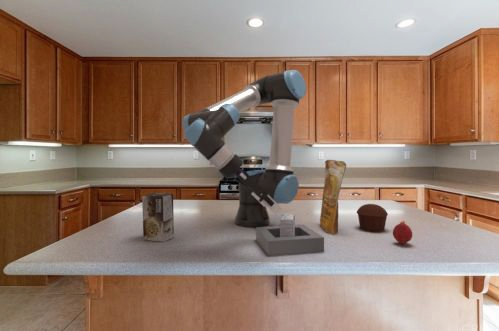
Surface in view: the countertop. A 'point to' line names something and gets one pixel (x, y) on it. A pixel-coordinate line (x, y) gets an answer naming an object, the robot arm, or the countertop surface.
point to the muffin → (372, 217)
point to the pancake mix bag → (331, 195)
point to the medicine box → (287, 225)
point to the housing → (289, 241)
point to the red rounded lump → (402, 233)
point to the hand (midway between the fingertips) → (272, 207)
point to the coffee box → (158, 217)
